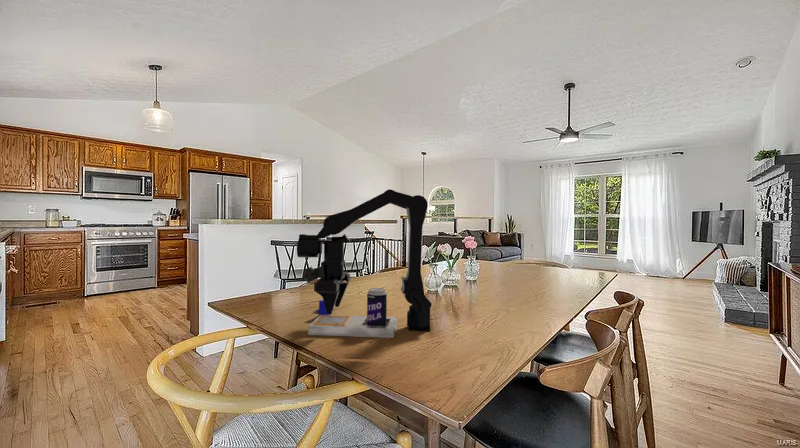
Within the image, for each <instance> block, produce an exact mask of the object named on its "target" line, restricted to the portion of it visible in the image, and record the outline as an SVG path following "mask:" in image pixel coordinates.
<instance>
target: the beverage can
mask: <svg viewBox="0 0 800 448" xmlns="http://www.w3.org/2000/svg"><path fill="white" fill-rule="evenodd" d="M366 295H367V296H366V299H367V300H366V306H367V307H366V316H367V325H369V326H386V317H387V313H388V311H387V305H388V304H387V301H388V300H387V292H386V288H383V287H382V288H381V287H373V288H369V289H368V292H367V294H366Z"/></svg>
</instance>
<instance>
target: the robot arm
mask: <svg viewBox="0 0 800 448" xmlns="http://www.w3.org/2000/svg"><path fill="white" fill-rule="evenodd" d="M387 205H393V206H396V207H398V208H401V209H404V210H406V215H407V216H406V217H407V221H408V222H407V223H408V225H409V227H408V230H409V231H408V250H407V251H408V252H407V254H408V257H407V271H406V276H405V277H404V276H401V277H400V278H401V288H400V290H401V293H402V294H403V297H404V299H405V300H406V301H407V303H409V304H410V305H409V306H408V308H409V309H408V310H407V313H406V315H407V316H406V326H407V327H408V328H407V329H408V331H431V307H432V302H431V300H430V299H429V298H428V297H427V296H426V294H425V288H424V282H423V278H422V271H421V270H422V247H423V246H422V245H423V244H422V243H423V227H424V226H423V225H424V223H425V219H426V215H427V210H428V200H427V199H426V198H425V196H422V195H420V194H419V195H418V194H416V195H410V194H405V193H403V192H399V191H395V190H394V189H392V188H391V189H387V190H385V191H384V192H383V193H381V194H379V195H376V196H374V197H373V198H371V199H368V200H366V201H365V202H363V203H360V204H359V205H357V206H355V207H353V208H351V209H348V210H344V211H341V212H336V213H335V214H334V213H333V214H330V215H328V216H326V217H325V219H324V220H323V222H322V226H323V227H322V228H321V230H320V231H318V233H317V234H305V233H300V234H299V235H298V240H297V245H296V256H297V257H298V258H319V255H322V254H323V261H321V262H320V266H318V267H315V268H314V267H313V266H310V267H307V268H304V272H303V276H302V277H303V279H305V280H306V283H311V282H312V281H314V280H317V281H316V282H315V283H314V284H313V291H314V292H316V293H317V294H318V295H319V296H321V297H322V300H324V304H325V307H326V311H327V314H331V315H333V314H332V313H333V312H334V309H335V308H338V307H340V304H341V302H342V300H343V298H344V295H345V293H346V291H347V288H348V286H349V284H350V282H351V274H350V273H349V272H348V271H344V265H345V264H346V260H345V259H344V258H345V256H344V254H345V253H344V252H345V251H344V250H345V249H344V246H345V243H350V242H351V239H350V238H349V237H348V236H347V235H346V234H345V233H344V234H343V235H341V236H335V235H338V234H340V233H342V232H343V231H345V230H346V229H347V228H348V227H350V226H351V225H353V224H354V223H355V222H356V221H357V220H360V219H362V218H363V217H366V216H368V215H370V214H371V213H374V212H375V211H377V210H379V209H381V208H383V207H385V206H387ZM331 235H332V236H331ZM329 236H331V239H325V238H328V237H329ZM345 281H346V282H345ZM333 308H334V309H333Z"/></svg>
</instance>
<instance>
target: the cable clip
mask: <svg viewBox="0 0 800 448" xmlns="http://www.w3.org/2000/svg"><path fill="white" fill-rule="evenodd" d="M334 309H335V307H334V308H333V310H334ZM317 314H318V317H319V316H320V315H332V314H327V311H326V307H325V304H324V300H323V299H321V300H319V301H318V309H317Z"/></svg>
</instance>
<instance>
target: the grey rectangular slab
mask: <svg viewBox="0 0 800 448" xmlns="http://www.w3.org/2000/svg"><path fill="white" fill-rule="evenodd" d="M397 326H398V316H386V326H369V325H367V315H350V314H349V315H347V314H344V315H343V314H331V315H320V316H319V315H318V316H317V318H315V319H314V320H313V321H312V322H311V323H310V324H309V325H308V326H307V335H308V336H327V337H330V336H331V337H355V338H357V337H358V338H359V337H361V338H385V339H386V338H388V339H392V338H393V339H394V337H395V334H396V330H397Z"/></svg>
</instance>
